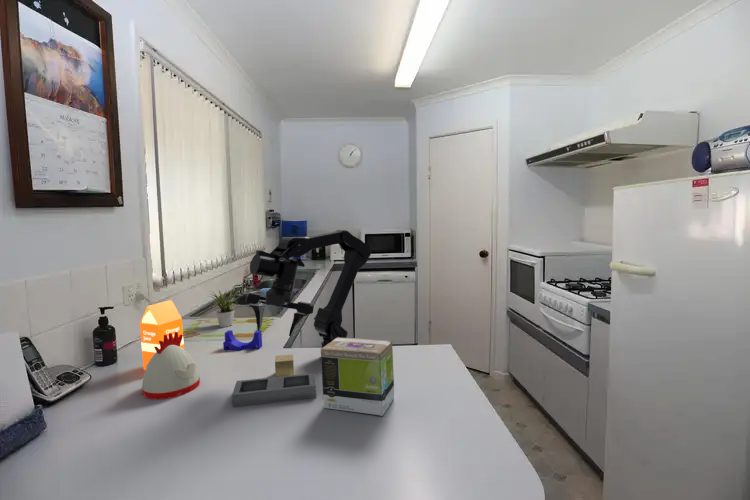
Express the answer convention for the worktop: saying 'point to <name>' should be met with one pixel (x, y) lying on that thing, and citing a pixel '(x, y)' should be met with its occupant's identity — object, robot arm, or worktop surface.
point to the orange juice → (158, 327)
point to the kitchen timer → (170, 371)
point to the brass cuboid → (284, 365)
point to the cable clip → (236, 345)
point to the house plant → (224, 309)
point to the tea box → (358, 375)
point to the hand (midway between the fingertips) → (274, 333)
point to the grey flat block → (274, 389)
